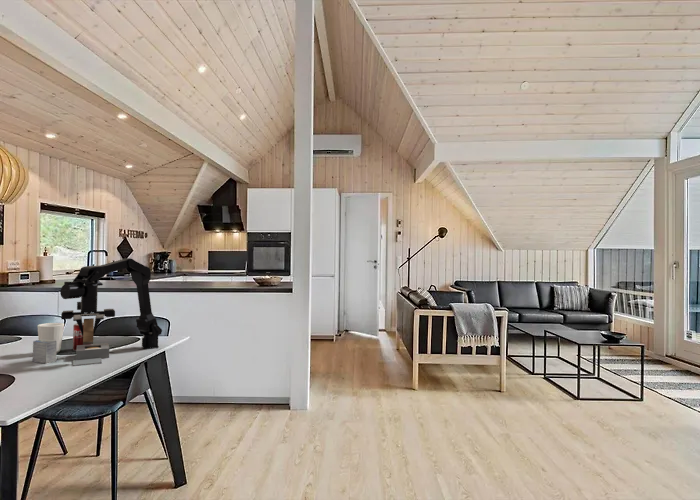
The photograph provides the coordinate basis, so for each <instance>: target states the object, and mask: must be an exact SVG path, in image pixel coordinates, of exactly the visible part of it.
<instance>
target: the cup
mask: <svg viewBox="0 0 700 500" xmlns="http://www.w3.org/2000/svg"><path fill="white" fill-rule="evenodd" d="M64 329H65V323H63V322H47V323H40V324H37V336H38V339H37V340H41V339H47V340H55V341H57V348H56V355H57V354H58V353H60V352H61V349H62V343H63V338H64V337H63V336H64Z"/></svg>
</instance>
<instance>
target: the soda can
mask: <svg viewBox="0 0 700 500" xmlns="http://www.w3.org/2000/svg"><path fill="white" fill-rule="evenodd" d="M82 323H83V329H84V322H82ZM72 329H73V331H72V332H73V333H72V350H73V351H74V352H76V350H77V345H83V335H82V333H81V330H80V328H79V325H78V324H77V322H76V323H74V324H73V327H72ZM85 345H90V344H85Z"/></svg>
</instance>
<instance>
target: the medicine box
mask: <svg viewBox="0 0 700 500" xmlns="http://www.w3.org/2000/svg"><path fill="white" fill-rule="evenodd" d="M32 342H33V343H32V362H34V363H41V364H50V363H55V362H57V354H56V348H57V341H55V340H47V339H41V340H39V339H37V340H33V341H32Z"/></svg>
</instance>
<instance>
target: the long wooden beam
mask: <svg viewBox="0 0 700 500" xmlns="http://www.w3.org/2000/svg"><path fill="white" fill-rule="evenodd" d="M83 323H84V329H83V345H85V344H94V335H93V330H94V324H95V317H93V318H83Z"/></svg>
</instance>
